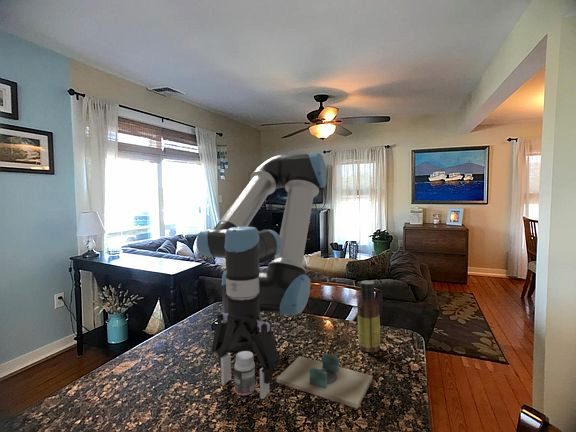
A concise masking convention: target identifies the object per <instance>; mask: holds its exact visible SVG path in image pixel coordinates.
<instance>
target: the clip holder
mask: <svg viewBox="0 0 576 432" xmlns="http://www.w3.org/2000/svg"><path fill="white" fill-rule="evenodd" d="M321 357H322V361H319V360H316V359H312V358H309V357H305V356H301V355H299V356H298V357H297V358H296V359H295V360H294V361H293V362H291V364H289V366H288V367H286V369H284V370H283V371H282V372H281V374H279V375H278V376H277V377H276V383H278V384H281V385H284V386H287V387H290V388H293V389H296V390H299V391H303V392H306V393H309V394H311V395H315V396H318V397H320V398H324V399H326V400H330V401H333V402H336V403H339V404H342V405H345V406H348V407H352V408H354V409H357V410H358V409H359V407H360V405H361V403H362V401H363V398H364V397H365V395H366V393H367V391H368V389H369V387H370V385H371V384H372V381H373V375H370V374H367V373H363V372H361V371H356V370H352V369H348V368H347V367H341V366H340V358H339V356H336V355H332V354H328V353H325V352H324V353H323V354H322V356H321Z"/></svg>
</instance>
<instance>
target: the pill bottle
mask: <svg viewBox="0 0 576 432" xmlns="http://www.w3.org/2000/svg"><path fill="white" fill-rule="evenodd" d="M233 374H234V376H233V377H234V392H235V394H237V395H239V396H248V395H251V394H253V393H254V391H255V390H256V375H255V374H256V364H255V361H254V353H253V352H251V351H250V350H248V351H238V353H237V354H236V355H235V363H234V365H233Z"/></svg>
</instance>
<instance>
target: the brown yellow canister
mask: <svg viewBox="0 0 576 432" xmlns="http://www.w3.org/2000/svg"><path fill="white" fill-rule="evenodd" d="M359 286H360V299H358V302H357V336H358V338H357V339H358V341H357V342H358V347H359V349H360V350H361V351H362V352H364V353H365V352H366V353H370V354H373V353H378V352H379V351H380V349H381V320H380V308H379V307H380V305H379V303H378V301H377V298H376V297H375V296H376V295H375V287H376V283H375V281H373V280H361V281H360V283H359Z"/></svg>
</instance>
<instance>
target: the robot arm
mask: <svg viewBox="0 0 576 432" xmlns="http://www.w3.org/2000/svg"><path fill="white" fill-rule="evenodd" d="M327 176H328V175H327V168H326V162H325V159H324V157H323V156H322V154H321V153H319V152H308V153H291V154H290V153H287V154H278V155H274V156H272V157H270V158H269V159H267V160H265V161H264V162H263V163H260V165H258V166H257V167H256V169H255V170H253V172H252V173H251V174H250V178H249V182H248V183H247V185H246V186H245V187H244V188H243V190H242V191H241V192H240V194H239V195H238V196H237V198H236V199H235V200H234V201H233V203H232V204H231V205H230V206H229V208H228V209H227V210H226V212H225V213H224V215H223V216H222V217H221V218H220V219H219V221H218V223H217V224H216V225H215V226H214V228H207V229H202V230H201V231H199V233H198V234H197V238H196V242H195V243H196V249H197V251H198V253H199V255H201V256H202V257H209V258H213V259H215V258H218V259H225V270H224V271H223V272H222V274H221V296H222V298H221V299H222V312H221V313H218V314H217V317H216V321H217V324H216V329H215V333H214V338H213V341H212V344H211V351H212V353H216V354H217V356H218V366H219V369H220V377H221V378H220V379H221V380H220V382H221V385H224V386H225V384H227V383H228V382H229V381H230V380H232V364H231V363H232V359H231V358H232V356H231V352H242V351H254V352H255V355H256V357H257V359H258V362H259V363H260V365H261V368H260V369H259V398H260V399H261V400H264V398H265V397H267V396H268V395H269V393H270V383H271V382H272V380H273V371H274V370H275V369H276V368H277V367H278V366H279V365H280V364H281V361H280V358H279V354H278V350H277V346H276V342H275V339H274V336H273V332H272V330H273V329H272V321H271V320H267V321H264V320H263V318H262V312H263V313H265V312H266V313H272V314H277V315H278V314H279V315H282V316H297V315H300V314H301V313H302V312H303V311H304V310H305V308H306V306H307V304H308V300H309V297H310V294H311V285H312V284H311V283H312V282H311V279H310V277H309V276H308V275H307V269H306V268H305V267H304V265H303V261H304V255H305V251H306V244H307V238H308V233H309V226H310V221H311V215H312V214H311V213H312V208H313V203H314V198H316V197H317V196H318V195H319V193H320V189H321V188H325V187H326V185H327V180H328V179H327ZM282 188H284V189H285V191H286V193H287V196H286V200H285V201H286V202H285V207H284V210H283V217H282V220H281V221H282V222H281V227H280V230H279V233H278V232H276V231H275V230H273V229H262V230H258V228H256V227H255V226H249V225H250V223H251V222H252V220H253V218H254V217H255V216H256V214H257V213H258V211H259V210H260V208H261V207H262V206H263V203H264V202H265V200H266V199H267V197H268V196H269V195H271V194H274V192H275V191H276V190H277V189H282ZM273 258H274V259H273ZM271 259H273V260H272V261H271V262H269V263H268V264H267V270H266V271H262V269H261V266H260V264H261V263H263V262H266V261H268V260H271ZM230 351H231V352H230Z"/></svg>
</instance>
